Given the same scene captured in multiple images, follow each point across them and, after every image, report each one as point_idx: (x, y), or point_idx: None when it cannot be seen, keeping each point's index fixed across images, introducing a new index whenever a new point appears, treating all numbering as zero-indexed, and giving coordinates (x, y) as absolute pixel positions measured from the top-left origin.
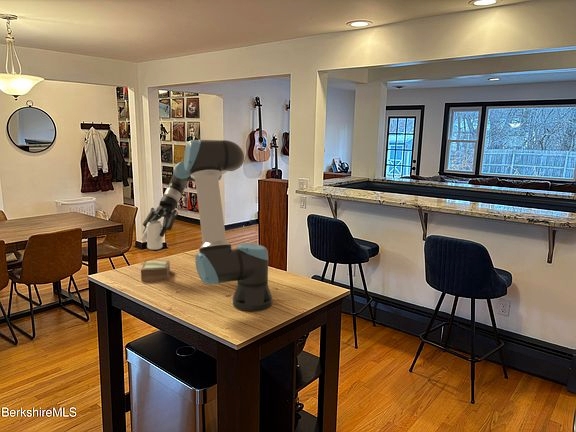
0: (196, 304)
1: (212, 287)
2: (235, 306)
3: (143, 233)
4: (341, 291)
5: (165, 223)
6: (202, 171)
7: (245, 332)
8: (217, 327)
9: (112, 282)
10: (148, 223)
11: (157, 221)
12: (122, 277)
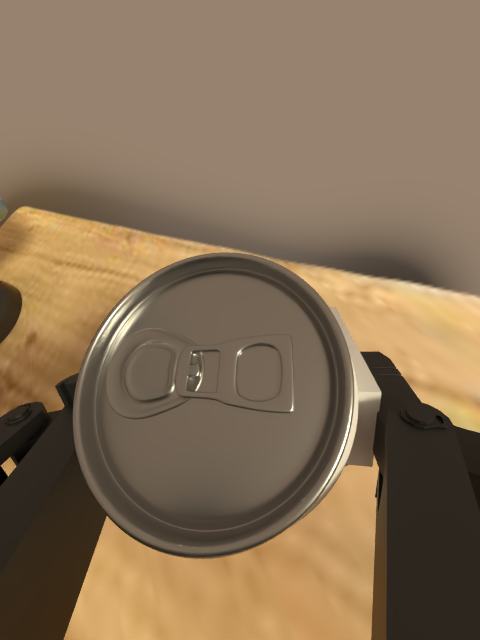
0: (88, 273)
1: (70, 375)
2: (15, 288)
3: (346, 330)
4: None
5: (18, 474)
6: None
7: (9, 230)
8: (44, 224)
9: (370, 293)
10: (257, 267)
11: (189, 532)
12: (385, 345)
